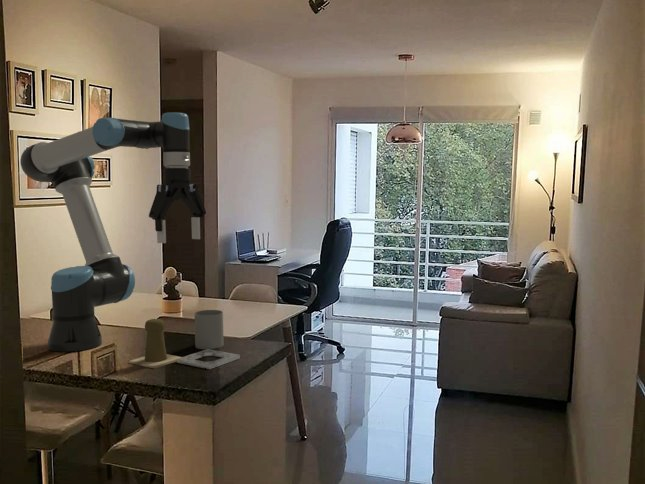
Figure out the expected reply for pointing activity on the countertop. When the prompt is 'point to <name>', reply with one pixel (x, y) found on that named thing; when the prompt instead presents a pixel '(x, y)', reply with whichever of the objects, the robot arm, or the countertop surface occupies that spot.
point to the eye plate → (210, 364)
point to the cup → (209, 329)
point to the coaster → (154, 365)
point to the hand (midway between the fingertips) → (179, 241)
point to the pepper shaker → (155, 341)
